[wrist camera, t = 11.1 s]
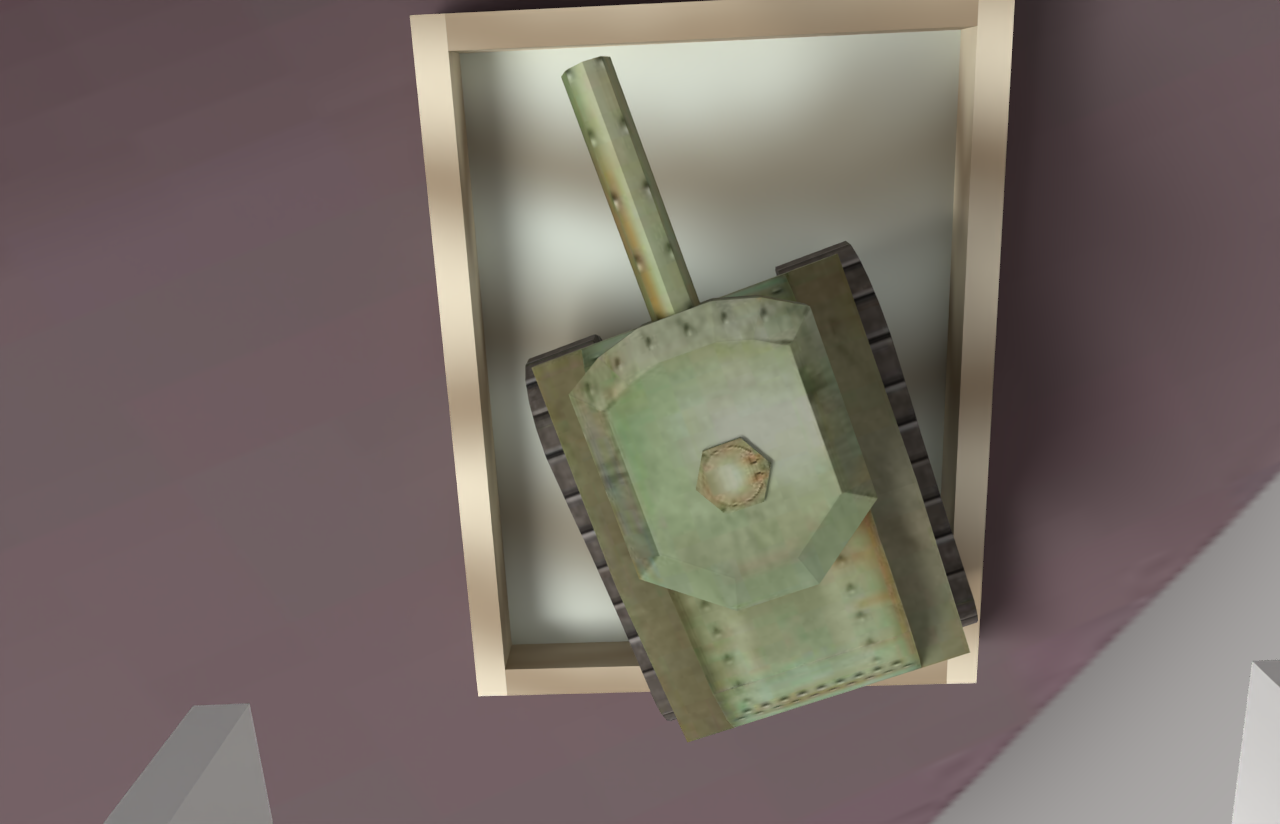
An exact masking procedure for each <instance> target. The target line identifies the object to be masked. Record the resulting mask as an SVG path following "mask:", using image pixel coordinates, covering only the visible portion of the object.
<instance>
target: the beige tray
mask: <svg viewBox="0 0 1280 824" xmlns="http://www.w3.org/2000/svg"><path fill="white" fill-rule="evenodd" d="M1014 5H1015V0H715V1H695V2H674V3H654V4H633V5H612V6H592V7H571V8H551V9H530V10H509V11H489V12H468V13H448V14H427V15H410V22H411V32H412V42H413V52H414V62H415V72H416V82H417V92H418V101H419V111H420V121H421V131H422V141H423V151H424V161H425V171H426V181H427V191H428V201H429V211H430V221H431V231H432V241H433V250H434V260H435V270H436V280H437V290H438V300H439V310H440V320H441V330H442V340H443V350H444V360H445V370H446V380H447V390H448V400H449V409H450V419H451V429H452V439H453V449H454V459H455V469H456V479H457V489H458V499H459V509H460V519H461V529H462V539H463V549H464V558H465V568H466V578H467V588H468V598H469V608H470V618H471V628H472V638H473V648H474V658H475V668H476V678H477V688H478V696H503V695H541V694H578V693H616V692H650V689H649V687H648V685H647V682H646V680H645V678H644V675H643V673H642V671H641V668H640V666H639V664H638V661H637V659H636V657H635V654H634V652H633V649H632V647H631V645H630V642H629V640H628V638H627V635H626V633H625V631H624V628H623V626H622V624H621V621H620V619H619V617H618V615H617V612H616V610H615V608H614V606H613V603H612V601H611V599H610V597H609V594H608V592H607V590H606V588H605V586H604V583H603V581H602V579H601V577H600V574H599V572H598V570H597V568H596V565H595V563H594V561H593V559H592V557H591V554H590V552H589V550H588V548H587V546H586V544H585V541H584V539H583V537H582V535H581V533H580V531H579V529H578V527H577V524H576V522H575V520H574V518H573V516H572V514H571V511H570V509H569V507H568V505H567V503H566V500H565V498H564V496H563V494H562V492H561V489H560V487H559V485H558V483H557V481H556V478H555V476H554V474H553V472H552V470H551V467H550V465H549V463H548V461H547V459H546V456H545V453H544V450H543V447H542V445H541V442H540V439H539V436H538V433H537V430H536V427H535V423H534V419H533V416H532V412H531V408H530V405H529V400H528V394H527V388H526V382H525V365H526V363H527V361H528V359H530V358H532V357H535V356H538V355H541V354H543V353H546V352H549V351H551V350H554V349H557V348H559V347H562V346H565V345H567V344H570V343H573V342H575V341H578V340H581V339H583V338H586V337H589V336H591V335H594V334H596V335H598V336H600V337H601V339H602V340H606V339H608V338H611V337H614V336H616V335H619V334H622V333H625V332H627V331H630V330H633V329H635V328H638V327H639V326H641V325H642V324H644V323H647V322H649V321H651V318H650V315H649V312H648V310H647V307H646V304H645V302H644V299H643V296H642V294H641V291H640V288H639V285H638V283H637V280H636V277H635V275H634V272H633V269H632V267H631V264H630V261H629V259H628V256H627V253H626V250H625V248H624V245H623V242H622V240H621V237H620V234H619V232H618V229H617V226H616V224H615V221H614V218H613V215H612V213H611V210H610V207H609V205H608V202H607V199H606V197H605V194H604V191H603V189H602V186H601V183H600V180H599V178H598V175H597V172H596V170H595V167H594V164H593V162H592V159H591V156H590V154H589V151H588V148H587V145H586V143H585V140H584V137H583V135H582V132H581V129H580V127H579V124H578V121H577V119H576V116H575V113H574V110H573V108H572V105H571V102H570V100H569V97H568V94H567V92H566V89H565V86H564V84H563V81H562V78H561V76H562V75H563V73H564V72H565V70H567V69H569V68H571V67H573V66H575V65H577V64H579V63H581V62H583V61H586V60H589V59H593V58H596V57H599V56H608V57H610V58H611V60H612V63H613V66H614V69H615V71H616V74H617V77H618V80H619V82H620V85H621V88H622V90H623V93H624V96H625V99H626V101H627V104H628V107H629V110H630V112H631V115H632V118H633V121H634V123H635V126H636V129H637V132H638V134H639V137H640V140H641V143H642V145H643V148H644V151H645V153H646V156H647V159H648V162H649V164H650V167H651V170H652V173H653V175H654V178H655V181H656V184H657V186H658V189H659V192H660V195H661V197H662V200H663V203H664V206H665V208H666V211H667V214H668V216H669V219H670V222H671V225H672V227H673V230H674V233H675V236H676V238H677V241H678V244H679V247H680V249H681V252H682V255H683V258H684V260H685V263H686V266H687V269H688V271H689V274H690V277H691V279H692V282H693V285H694V288H695V290H696V293H697V296H698V299H699V301H700V302H703V301H706V300H708V299H711V298H719V297H721V296H724V295H727V294H729V293H732V292H735V291H738V290H740V289H743V288H746V287H748V286H751V285H754V284H756V283H759V282H762V281H764V280H767V279H770V278H772V277H775V276H777V275H776V271H775V267H776V266H779V265H782V264H785V263H787V262H790V261H793V260H795V259H798V258H801V257H803V256H806V255H809V254H811V253H814V252H817V251H819V250H822V249H825V248H827V247H830V246H833V245H835V244H838V243H841V242H844V241H847V242H848V243H850V244H851V246H852V247H853V249H854V250H855V252H856V254H857V255H858V257H859V259H860V261H861V263H862V265H863V267H864V269H865V271H866V273H867V275H868V277H869V280H870V282H871V284H872V287H873V289H874V292H875V294H876V296H877V299H878V301H879V304H880V306H881V309H882V312H883V314H884V317H885V320H886V323H887V325H888V328H889V331H890V333H891V337H892V340H893V343H894V346H895V350H896V353H897V356H898V359H899V362H900V366H901V369H902V372H903V375H904V379H905V382H906V385H907V388H908V392H909V395H910V398H911V401H912V405H913V408H914V411H915V415H916V418H917V421H918V425H919V428H920V431H921V435H922V438H923V441H924V444H925V448H926V451H927V454H928V457H929V460H930V464H931V467H932V470H933V473H934V476H935V480H936V483H937V486H938V489H939V492H940V496H941V499H942V502H943V505H944V508H945V511H946V515H947V518H948V521H949V524H950V527H951V530H952V533H953V536H954V539H955V542H956V545H957V548H958V552H959V555H960V558H961V561H962V564H963V567H964V570H965V573H966V576H967V579H968V582H969V586H970V589H971V592H972V595H973V598H974V601H975V605H976V609H977V614H978V622H977V623H974V624H971V625H968V626H965V627H963V630H964V633H965V637H966V640H967V643H968V646H969V650H970V653H967V654H964V655H961V656H958V657H955V658H951V659H948V660H945V661H942V662H939V663H936V664H933V665H929V666H926V667H923V668H920V669H917V670H914V671H911V672H907V673H904V674H901V675H898V676H895V677H892V678H889V679H885V680H882V681H879V682H876V683H873V684H870V685H866V686H878V685H916V684H953V683H976V678H977V660H978V643H979V625H980V607H981V590H982V572H983V554H984V536H985V519H986V501H987V483H988V466H989V448H990V430H991V412H992V395H993V377H994V359H995V342H996V324H997V306H998V288H999V271H1000V253H1001V235H1002V218H1003V200H1004V182H1005V164H1006V147H1007V129H1008V111H1009V94H1010V76H1011V58H1012V40H1013V23H1014Z"/></svg>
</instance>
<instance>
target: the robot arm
mask: <svg viewBox="0 0 1280 824" xmlns="http://www.w3.org/2000/svg"><path fill="white" fill-rule="evenodd" d="M103 824H273V821H272V816H271V811H270V806H269V801H268V796H267V791H266V786H265V780H264V775H263V770H262V765H261V760H260V755H259V750H258V745H257V739H256V734H255V729H254V724H253V719H252V714H251V709H250V704H225V705H202V706H193V707H192V708H191V709H190V711H189V712H188V713H187V715H186V716H185V717H184V718H183V720H182V721H181V722H180V724H179V725H178V726H177V728H176V729H175V730H174V732H173V733H172V734H171V735H170V737H169V738H168V739H167V741H166V742H165V743H164V745H163V746H162V747H161V749H160V750H159V751H158V752H157V754H156V755H155V756H154V758H153V759H152V760H151V762H150V763H149V764H148V766H147V767H146V768H145V769H144V771H143V772H142V773H141V775H140V776H139V777H138V779H137V780H136V781H135V783H134V784H133V785H132V786H131V788H130V789H129V790H128V792H127V793H126V794H125V796H124V797H123V798H122V800H121V801H120V802H119V804H118V805H117V806H116V807H115V809H114V810H113V811H112V813H111V814H110V815H109V817H108V818H107V819H106V821H105V822H104V823H103ZM1232 824H1280V660H1265V661H1252V667H1251V675H1250V683H1249V691H1248V698H1247V706H1246V714H1245V722H1244V730H1243V738H1242V746H1241V754H1240V761H1239V770H1238V777H1237V785H1236V793H1235V801H1234V809H1233V817H1232Z"/></svg>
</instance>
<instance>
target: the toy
mask: <svg viewBox="0 0 1280 824" xmlns="http://www.w3.org/2000/svg"><path fill="white" fill-rule="evenodd" d="M561 78H562V81H563V84H564V86H565V89H566V92H567V94H568V97H569V100H570V102H571V105H572V108H573V110H574V113H575V116H576V119H577V121H578V124H579V127H580V129H581V132H582V135H583V137H584V140H585V143H586V145H587V148H588V151H589V154H590V156H591V159H592V162H593V164H594V167H595V170H596V172H597V175H598V178H599V180H600V183H601V186H602V189H603V191H604V194H605V197H606V199H607V202H608V205H609V207H610V210H611V213H612V215H613V218H614V221H615V224H616V226H617V229H618V232H619V234H620V237H621V240H622V242H623V245H624V248H625V250H626V253H627V256H628V259H629V261H630V264H631V267H632V269H633V272H634V275H635V277H636V280H637V283H638V285H639V288H640V291H641V294H642V296H643V299H644V302H645V304H646V307H647V310H648V312H649V315H650V318H651V321H649V322H647V323H644V324H642V325H641V326H639V327H638V328H635V329H633V330H630V331H627V332H625V333H622V334H619V335H616V336H614V337H611V338H608V339H606V340H602V339H601V337H600V336H598V335H596V334H594V335H591V336H589V337H586V338H583V339H581V340H578V341H575V342H573V343H570V344H567V345H565V346H562V347H559V348H557V349H554V350H551V351H549V352H546V353H543V354H541V355H538V356H535V357H532V358H530V359H528V361H527V363H526V365H525V382H526V388H527V394H528V400H529V405H530V408H531V412H532V416H533V419H534V423H535V427H536V430H537V433H538V436H539V439H540V442H541V445H542V447H543V450H544V453H545V456H546V459H547V461H548V463H549V465H550V467H551V470H552V472H553V474H554V476H555V478H556V481H557V483H558V485H559V487H560V489H561V492H562V494H563V496H564V498H565V500H566V503H567V505H568V507H569V509H570V511H571V514H572V516H573V518H574V520H575V522H576V524H577V527H578V529H579V531H580V533H581V535H582V537H583V539H584V541H585V544H586V546H587V548H588V550H589V552H590V554H591V557H592V559H593V561H594V563H595V565H596V568H597V570H598V572H599V574H600V577H601V579H602V581H603V583H604V586H605V588H606V590H607V592H608V594H609V597H610V599H611V601H612V603H613V606H614V608H615V610H616V612H617V615H618V617H619V619H620V621H621V624H622V626H623V628H624V631H625V633H626V635H627V638H628V640H629V642H630V645H631V647H632V649H633V652H634V654H635V657H636V659H637V661H638V664H639V666H640V668H641V671H642V673H643V675H644V678H645V680H646V682H647V685H648V687H649V689H650V692H651V694H652V696H653V699H654V701H655V703H656V705H657V707H658V709H659V710H660V712H661V714H662V715H663V716H664V718H665V719H666V720H667V721H672V720H675V719H677V720H678V722H679V725H680V727H681V729H682V731H683V733H684V735H685V738H686V740H687V742H690V741H693V740H696V739H700V738H703V737H706V736H709V735H712V734H715V733H718V732H722V731H725V730H728V729H731V728H734V727H737V726H741V725H744V724H747V723H750V722H753V721H756V720H759V719H763V718H766V717H769V716H772V715H775V714H778V713H781V712H785V711H788V710H791V709H794V708H797V707H800V706H803V705H807V704H810V703H813V702H816V701H819V700H822V699H826V698H829V697H832V696H835V695H838V694H841V693H844V692H848V691H851V690H854V689H857V688H860V687H863V686H866V685H870V684H873V683H876V682H879V681H882V680H885V679H889V678H892V677H895V676H898V675H901V674H904V673H907V672H911V671H914V670H917V669H920V668H923V667H926V666H929V665H933V664H936V663H939V662H942V661H945V660H948V659H951V658H955V657H958V656H961V655H964V654H967V653H970V650H969V646H968V643H967V640H966V637H965V633H964V630H963V627H965V626H968V625H971V624H974V623H977V622H978V614H977V609H976V605H975V601H974V598H973V595H972V592H971V589H970V586H969V582H968V579H967V576H966V573H965V570H964V567H963V564H962V561H961V558H960V555H959V552H958V548H957V545H956V542H955V539H954V536H953V533H952V530H951V527H950V524H949V521H948V518H947V515H946V511H945V508H944V505H943V502H942V499H941V496H940V492H939V489H938V486H937V483H936V480H935V476H934V473H933V470H932V467H931V464H930V460H929V457H928V454H927V451H926V448H925V444H924V441H923V438H922V435H921V431H920V428H919V425H918V421H917V418H916V415H915V411H914V408H913V405H912V401H911V398H910V395H909V392H908V388H907V385H906V382H905V379H904V375H903V372H902V369H901V366H900V362H899V359H898V356H897V353H896V350H895V346H894V343H893V340H892V337H891V333H890V331H889V328H888V325H887V323H886V320H885V317H884V314H883V312H882V309H881V306H880V304H879V301H878V299H877V296H876V294H875V292H874V289H873V287H872V284H871V282H870V280H869V277H868V275H867V273H866V271H865V269H864V267H863V265H862V263H861V261H860V259H859V257H858V255H857V254H856V252H855V250H854V249H853V247H852V246H851V244H850V243H848V242H847V241H844V242H841V243H838V244H835V245H833V246H830V247H827V248H825V249H822V250H819V251H817V252H814V253H811V254H809V255H806V256H803V257H801V258H798V259H795V260H793V261H790V262H787V263H785V264H782V265H779V266H776V267H775V271H776V275H777V276H775V277H772V278H770V279H767V280H764V281H762V282H759V283H756V284H754V285H751V286H748V287H746V288H743V289H740V290H738V291H735V292H732V293H729V294H727V295H724V296H721V297H719V298H711V299H708V300H706V301H703V302H700V301H699V299H698V296H697V293H696V290H695V288H694V285H693V282H692V279H691V277H690V274H689V271H688V269H687V266H686V263H685V260H684V258H683V255H682V252H681V249H680V247H679V244H678V241H677V238H676V236H675V233H674V230H673V227H672V225H671V222H670V219H669V216H668V214H667V211H666V208H665V206H664V203H663V200H662V197H661V195H660V192H659V189H658V186H657V184H656V181H655V178H654V175H653V173H652V170H651V167H650V164H649V162H648V159H647V156H646V153H645V151H644V148H643V145H642V143H641V140H640V137H639V134H638V132H637V129H636V126H635V123H634V121H633V118H632V115H631V112H630V110H629V107H628V104H627V101H626V99H625V96H624V93H623V90H622V88H621V85H620V82H619V80H618V77H617V74H616V71H615V69H614V66H613V63H612V60H611V58H610V57H608V56H599V57H596V58H593V59H589V60H586V61H583V62H581V63H579V64H577V65H575V66H573V67H571V68H569V69H567V70H565V72H564V73H563V75H562V76H561Z"/></svg>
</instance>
